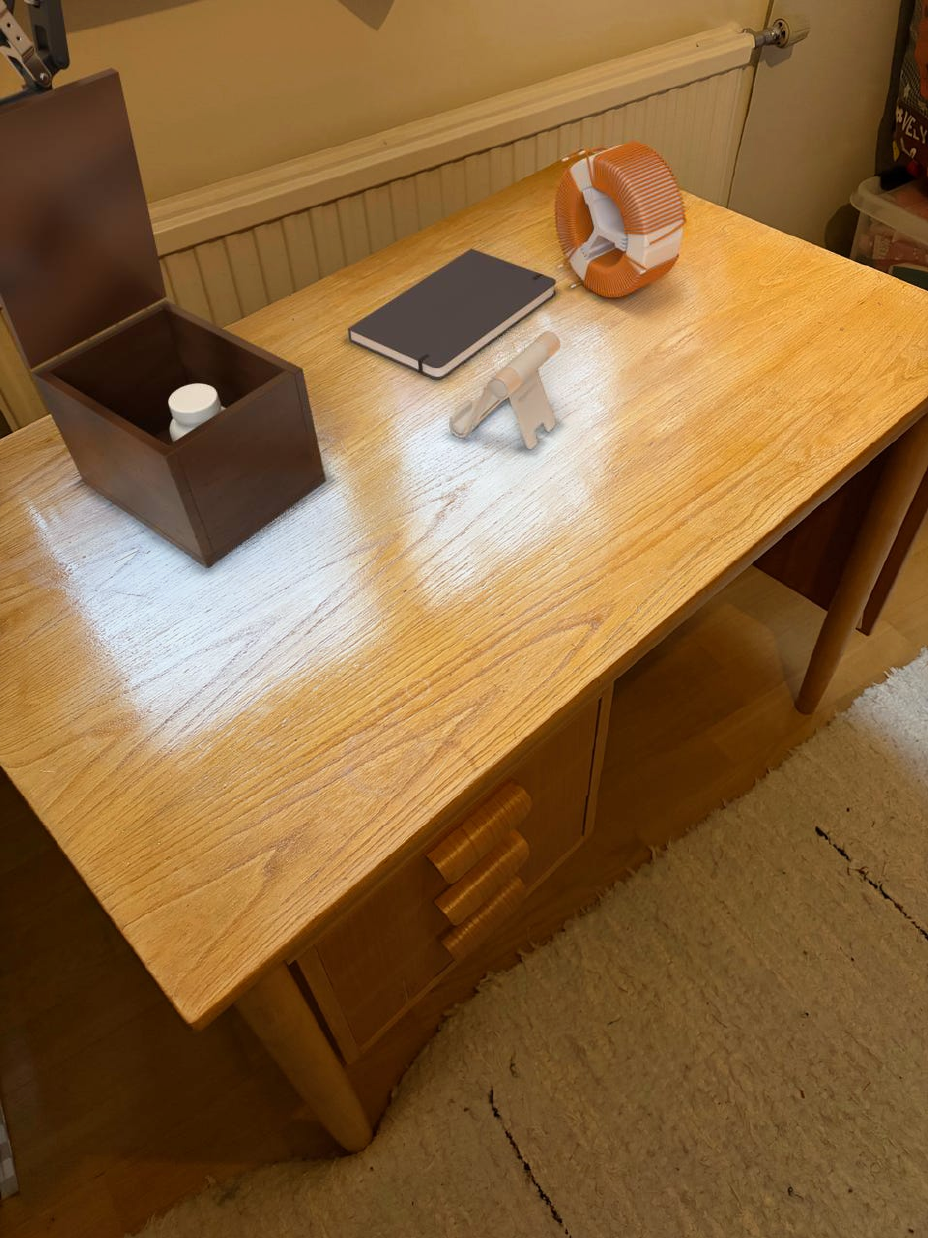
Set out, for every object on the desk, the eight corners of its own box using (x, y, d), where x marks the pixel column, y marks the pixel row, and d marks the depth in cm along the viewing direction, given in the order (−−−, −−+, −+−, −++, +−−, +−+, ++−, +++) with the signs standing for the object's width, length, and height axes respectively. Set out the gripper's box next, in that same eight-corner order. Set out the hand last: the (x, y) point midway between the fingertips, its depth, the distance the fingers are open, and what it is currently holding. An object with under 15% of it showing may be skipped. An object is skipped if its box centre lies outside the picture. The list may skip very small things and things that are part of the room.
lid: (118, 71, 63) (73, 43, 64) (-62, 138, 56) (-108, 105, 58) (167, 296, 79) (129, 270, 80) (30, 369, 72) (-8, 339, 73)
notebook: (471, 260, 105) (349, 341, 95) (471, 247, 104) (347, 328, 94) (558, 292, 100) (438, 381, 90) (559, 279, 99) (437, 368, 88)
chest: (326, 480, 80) (303, 368, 71) (207, 568, 74) (165, 457, 65) (201, 409, 88) (165, 299, 79) (83, 482, 82) (30, 372, 72)
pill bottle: (229, 460, 81) (201, 369, 74) (264, 486, 79) (238, 395, 71) (180, 488, 79) (146, 398, 72) (213, 516, 76) (182, 426, 69)
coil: (588, 253, 105) (598, 120, 94) (679, 303, 97) (702, 164, 86) (544, 272, 103) (549, 138, 92) (634, 326, 95) (652, 186, 84)
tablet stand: (499, 388, 89) (499, 313, 82) (566, 414, 85) (571, 338, 79) (449, 434, 84) (445, 358, 78) (518, 463, 81) (519, 386, 75)
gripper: (-25, -171, 57) (73, 111, 70) (-250, -128, 50) (-95, 176, 63) (39, -162, 54) (130, 133, 67) (-192, -114, 47) (-42, 204, 60)
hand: (20, 152), depth 65 cm, fingers closed on lid, 5 cm apart
